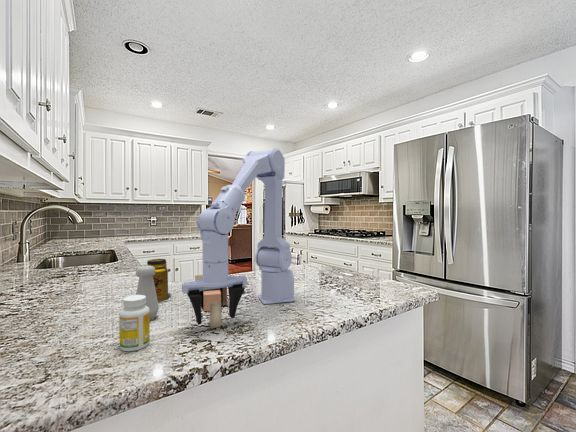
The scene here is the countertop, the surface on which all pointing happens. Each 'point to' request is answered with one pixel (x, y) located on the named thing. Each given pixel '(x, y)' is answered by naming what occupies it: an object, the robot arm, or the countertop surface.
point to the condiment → (160, 279)
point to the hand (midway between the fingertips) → (215, 319)
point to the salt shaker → (148, 288)
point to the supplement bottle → (134, 323)
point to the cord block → (213, 306)
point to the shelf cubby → (222, 290)
